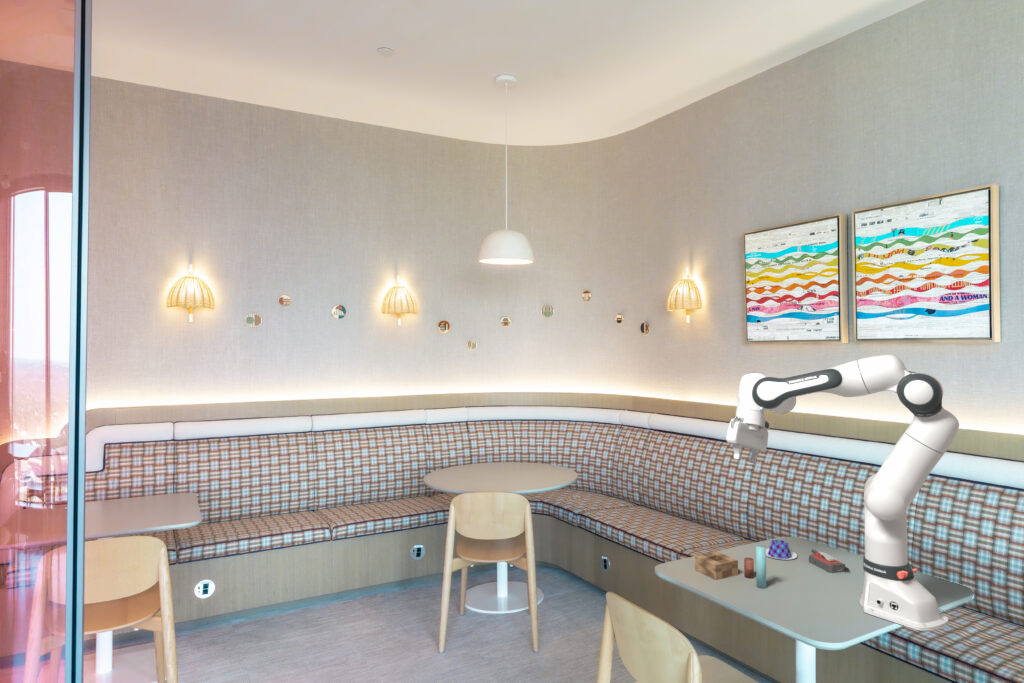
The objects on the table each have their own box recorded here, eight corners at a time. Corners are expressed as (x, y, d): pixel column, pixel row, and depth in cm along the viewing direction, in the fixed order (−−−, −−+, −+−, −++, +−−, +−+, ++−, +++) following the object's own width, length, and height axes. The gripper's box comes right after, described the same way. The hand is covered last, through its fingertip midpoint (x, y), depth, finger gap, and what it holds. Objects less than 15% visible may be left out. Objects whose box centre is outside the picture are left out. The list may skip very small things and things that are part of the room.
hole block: (738, 574, 210) (737, 560, 210) (715, 580, 206) (715, 565, 206) (716, 565, 219) (716, 551, 219) (695, 570, 215) (695, 555, 215)
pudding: (795, 563, 220) (794, 549, 220) (759, 557, 226) (759, 543, 226) (799, 553, 231) (798, 539, 231) (765, 548, 237) (764, 534, 237)
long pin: (768, 587, 199) (767, 547, 199) (761, 589, 198) (761, 549, 198) (761, 584, 202) (760, 545, 202) (754, 585, 201) (753, 546, 200)
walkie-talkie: (854, 573, 211) (814, 553, 230) (854, 560, 211) (814, 542, 230) (832, 575, 209) (794, 555, 229) (832, 562, 209) (793, 543, 228)
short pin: (755, 577, 208) (755, 559, 208) (749, 579, 206) (749, 561, 206) (748, 574, 210) (748, 557, 210) (742, 575, 209) (742, 558, 209)
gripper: (741, 415, 198) (737, 457, 195) (772, 425, 210) (769, 466, 208) (723, 414, 203) (719, 455, 200) (755, 424, 215) (751, 464, 213)
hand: (744, 461), depth 204 cm, fingers open, 8 cm apart
